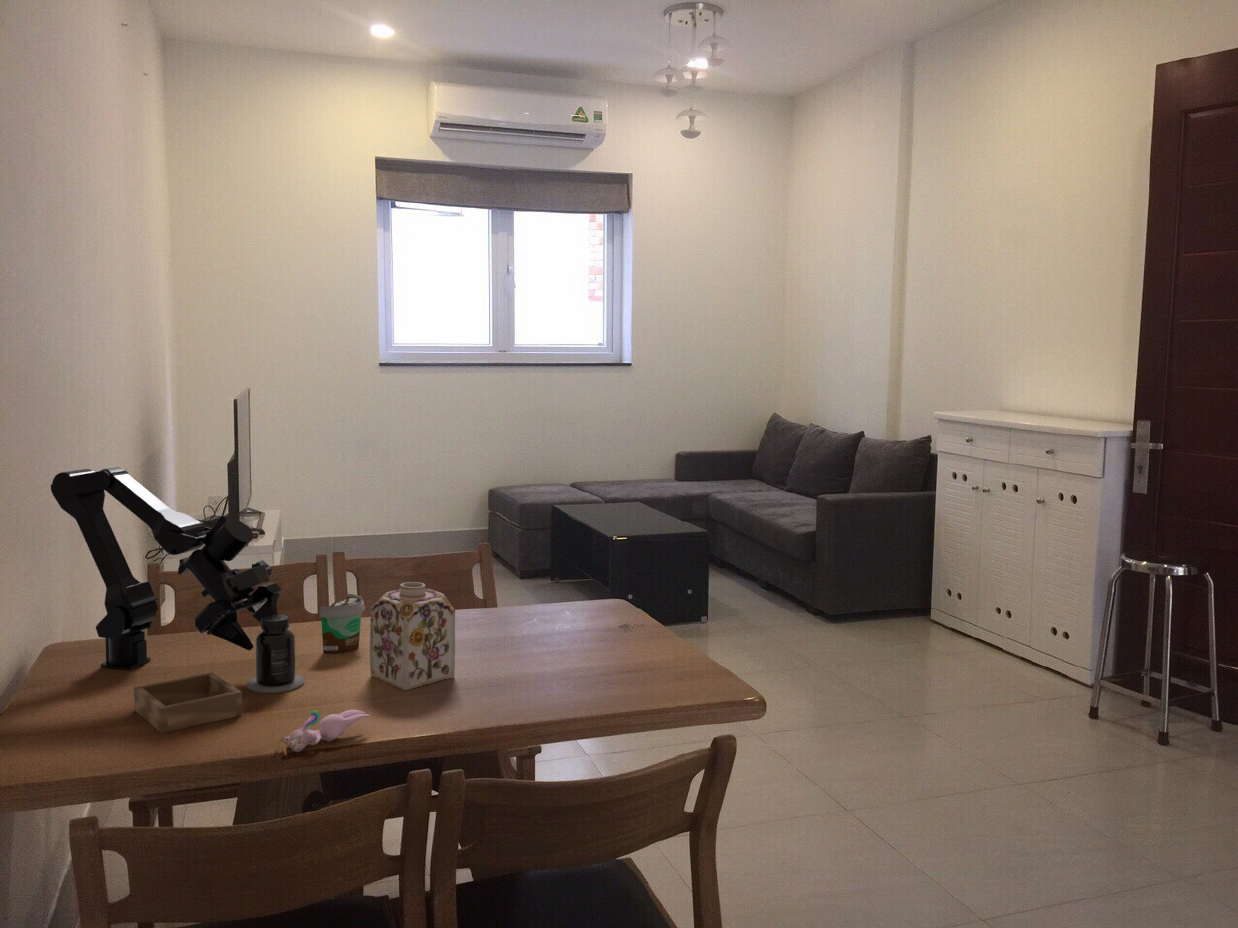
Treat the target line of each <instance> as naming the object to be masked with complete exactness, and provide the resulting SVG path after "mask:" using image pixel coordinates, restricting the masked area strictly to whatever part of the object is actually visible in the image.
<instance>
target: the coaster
mask: <svg viewBox="0 0 1238 928" xmlns="http://www.w3.org/2000/svg"><path fill="white" fill-rule="evenodd" d="M304 685H305V677H303V676H301V675H299V674H295V679H294V681H293V682H291V683H289V684H286V685H282V686H273V687H269V686H262V685H259V684H258V683H257V681H256V677H254V678H251V679H250V680H248V681H247V683H246V689H247V690H249V691H250V692H253V693H259V694H279V693H280V694H282V693H287V692H293V691H294V690H297V689H300V688H301V687H303V686H304Z"/></svg>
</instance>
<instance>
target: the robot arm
mask: <svg viewBox="0 0 1238 928" xmlns="http://www.w3.org/2000/svg"><path fill="white" fill-rule="evenodd" d="M105 491H106V493H108V495H110V496H112V497H113V498H114V500H116V501H118V502H119V503H120V504H122V506H123V507H125V508H126V509H127V510H128V511H130V513H132V514H133V515H135V516H136V517H137V519H139V520H141V521H142V522H143V523H144V524H146V526H148V527H149V529H150V530H151V532H152V535H153V538H154V540H155V541H156V542H157V544H159V546H160V547H161V548H162V549H163V551H165V552H166V554H169V555H172V556H177V555H182V554H186V553H189V552H192V553H191V554H189V555H188V557H184V558H180V559H179V560H178V561H179V565H178V568H177V574H178V575H183V574H187V573H191V575H192V576H193V577H194V578H195V580H196V581H197V582H198V583H199V585H201V588H203V590H202V592H201V593H200V594H201V595H202V597H203V598H208V597H210V599H211V600H212V601H213V602H210V603H207V605H206V606H205V607H204V608H203V609H202V610H201V611H200V612H199V613H198V615H196V616H195V617H194V621H193V623H194V628H196V630H197V631H198V632H199V633H200V635H201V634H204V633H206V634H207V635H208V636H210V635H212V636H213V637H217V638H219V639H223V640H224V641H227V642H229V643H231V644H234V645H236V646H238V647H241V648H242V649H244V650H247V651H252V649H254V645H253V643H252V641H251V640H250V638H249V636H248V635H247V634H246V632H245V630H244V629H243V628H242V626H241V625H240V624H239V622H238V616H237V614H238V613H237V612H240V611H243V610H246V609H247V610H248V612H250V613H253V614H252V615H251V616H252V618H254V619H255V620H256V621H258V622H259V623H260V624H261V618H262V617H264V616H268V615H279V611H278V607H277V605H278V600H279V598H281V596H280V594H281V593H282V592H283V590H282V588H280V586H279V585H278V584H277V582H272V581H271V578H270V576H272V570H273V569H272V567H270V565H269V564H268V563H267V562H266V561H265V560H260V561H257V562H255V563H252V564H251V568H249V569H246V570H244V571H242V572H241V570H240V569H237V568H234V569H231V568H230V566H229V565H228V564H227V562H231V561H232V562H233V560H235V558H236V557H237V556H238V555H239V554H240V553H241V552H242V551H243V550H244V549H245V548H246V547H247V546H248V545H249V544H251V543H250V542H252V541H253V539H254V534H253V531H252V529H251V528H250V526H249V525H248V524H245V523H244V522H242V521H241V520H238V519H236V518H233V517H232V516H231V514H224V515H221V517H219V518H218V520H217V522H216V523H214V525H213V527H208V526H205V525H204V524H203V523H202V521H199V520H198V519H196V518H194V517H192V516H190V515H188V514H187V513H184V512H180V511H176V510H174V509H172V508H171V507H169V506H168V505H167V504H165V503H164V502H163V501H162V500H160V499H159V498H158V497H157V496H156V495H154V494H153V493H152V492H151V491H149V490H148V489H147V488H145V487H144V486H143V485H142V484H141V483H139V482H138V481H137V480H136V479H134V478H133V477H132V476H131V475H130V474H129V472H128V471H127V470H126V469H125V468H124V467H120V466H117V467H116V466H115V467H111V468H103V469H101V470H99V471H96V470H92V469H90V468H84V469H77V470H76V469H75V470H69V471H64V472H63V471H62V472H59V473H57V474H56V475H55V476H54V477H53V478H52V482H51V484H50V492H51V494H52V496H53V497H54V499H55V501H56V502H57V504H58V506H59V507H60V508H61V509H62V510H63V511H64V512H66V513H67V514H68V515H70V516H71V517H72V518H74V520H75V521H76V523H77V526H78V528H79V531H80V533H81V534H82V536H83V538H84V541H85V544H86V545H87V548H88V550H89V552H90V554H91V556H92V559H93V561H94V563H95V565H96V567H97V570H98V572H99V575H100V577H101V578H102V581H103V583H104V585H105V590H106V591H105V598H104V608H105V611H106V615H104V617H103V618H102V619H101V620H100V621H99V622H98V623H97V624H96V626H95V629H96V633H97V637H99V638H104V639H105V662H102V663H100V666H99V667H100V668H107V669H116V670H118V669H119V670H125V671H126V670H131V669H132V670H133V669H134V668H136V667H139V666H141V665H143V664H145V663H148V662H150V661H151V657H148V653H147V652H148V651H147V650H148V647H147V644H148V643H147V640H146V639H145V637H146V636H145V635H146V634H145V631H144V630H147V629H148V630H149V629H150V628H151V627H152V625H153V621H154V618H155V617H156V614H157V611H158V610H159V609H158V604H157V603H158V602H157V601H158V600H159V599H158V597H157V596H156V595H155V593H154V590H153V588H152V585H151V583H150V582H149V581H148V580H146V581H143V582H140V580H138V579H137V578H135V577H134V575H133V574H132V570H131V569H130V567H129V565H128V562H127V560H126V557H125V555H124V553H123V551H122V549H121V547H120V544H119V542H118V540H117V537H116V535H115V534H114V530H113V529H112V526H111V525H110V521H109V520H108V518H107V516H106V513H105V511H104V504H105V498H106V493H105ZM262 583H264V584H262ZM261 584H262V585H261ZM258 585H259V586H258ZM256 586H258V587H256Z"/></svg>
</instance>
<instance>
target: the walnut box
mask: <svg viewBox="0 0 1238 928" xmlns="http://www.w3.org/2000/svg"><path fill="white" fill-rule="evenodd" d="M133 689H134V690H133V692H134V694H133V696H134V701H133V702H134V711H135V712H136V713H137V714H139V716H141V717H142V718H143V719H144V720H145V721H146V722H147V723H149V725H150V726H152V727H154V728H155V729H156V730H157V731H158V732H159V733H160V734H165V733H169V732H173V731H177V730H182V729H187V728H190V727H196V726H199V725H200V726H201V725H204V724H209V723H213V722H217V721H223V720H226V719H227V720H228V719H231V718H236V717H239V716H242V715H243V692H242V690H240V689H238V688H237V687H236V686H234V685H232V684H230V683H229V682H227V681H226V680H224V679H223V678H222V677H220V676H219V675H217V674H215V673H213V672H206V673H202V674H201V673H200V674H197V675H192V676H191V675H190V676H186V677H181V678H177V679H176V678H175V679H172V680H171V679H169V680H166V681H161V682H160V681H159V682H155V683H150V684H146V685H141V686H140V685H139V686H135V687H133Z"/></svg>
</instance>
